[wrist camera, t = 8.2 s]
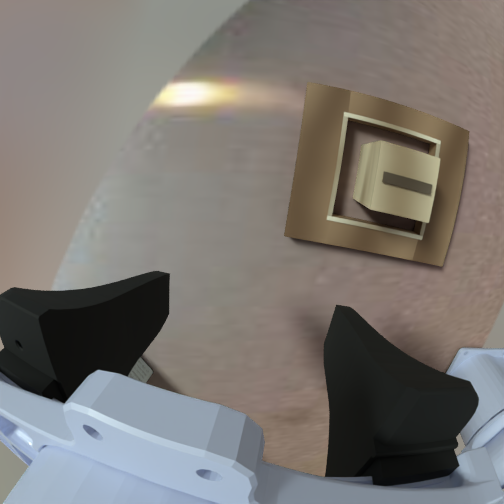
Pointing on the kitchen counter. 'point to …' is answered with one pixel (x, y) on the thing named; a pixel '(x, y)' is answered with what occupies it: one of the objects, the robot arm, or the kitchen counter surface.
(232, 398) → the kitchen counter surface
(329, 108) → the plate
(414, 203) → the beige block with stripe
